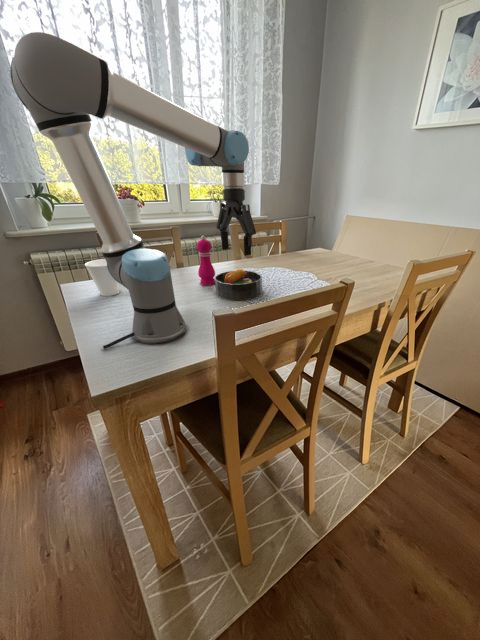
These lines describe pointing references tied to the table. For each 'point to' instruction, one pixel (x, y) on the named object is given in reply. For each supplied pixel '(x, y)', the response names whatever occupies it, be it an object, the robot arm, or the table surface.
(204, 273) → the pepper mill
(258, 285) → the bowl
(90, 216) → the robot arm
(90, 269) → the cup
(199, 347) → the table surface
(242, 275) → the cheeseburger
